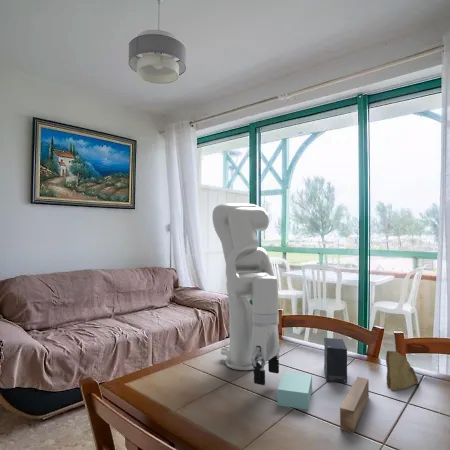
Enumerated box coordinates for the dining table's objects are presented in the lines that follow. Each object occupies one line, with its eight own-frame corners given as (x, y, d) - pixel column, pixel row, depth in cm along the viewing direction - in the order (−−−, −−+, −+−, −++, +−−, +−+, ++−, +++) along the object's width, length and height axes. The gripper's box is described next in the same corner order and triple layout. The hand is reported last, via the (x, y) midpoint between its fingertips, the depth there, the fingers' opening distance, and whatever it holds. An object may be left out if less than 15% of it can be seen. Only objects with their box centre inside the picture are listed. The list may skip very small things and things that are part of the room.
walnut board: (340, 429, 81) (340, 407, 81) (357, 394, 98) (357, 376, 98) (353, 433, 80) (353, 411, 80) (368, 397, 97) (368, 378, 97)
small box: (348, 383, 106) (348, 348, 106) (326, 382, 107) (325, 347, 107) (344, 370, 116) (343, 338, 116) (323, 368, 117) (323, 337, 117)
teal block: (277, 406, 93) (277, 389, 93) (284, 387, 104) (284, 371, 104) (308, 410, 90) (308, 393, 90) (312, 390, 102) (311, 375, 102)
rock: (413, 369, 110) (380, 363, 111) (422, 354, 105) (387, 347, 106) (421, 403, 101) (385, 396, 103) (431, 388, 96) (393, 381, 98)
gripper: (266, 311, 111) (267, 366, 111) (240, 323, 97) (241, 386, 96) (288, 314, 108) (290, 370, 107) (264, 326, 93) (266, 392, 92)
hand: (266, 378), depth 101 cm, fingers open, 9 cm apart
